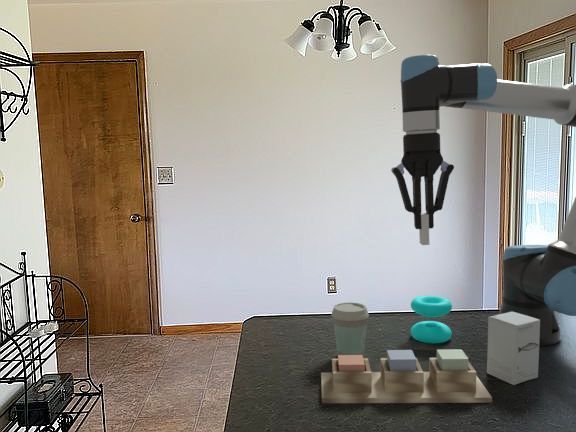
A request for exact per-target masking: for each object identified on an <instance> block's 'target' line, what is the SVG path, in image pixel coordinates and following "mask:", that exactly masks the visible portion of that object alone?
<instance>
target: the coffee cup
mask: <svg viewBox="0 0 576 432" xmlns="http://www.w3.org/2000/svg"><path fill="white" fill-rule="evenodd" d="M369 316H370V315H369V311H368V308H367V306H366V305H365V304H363V303H359V302H352V301H351V302H350V301H349V302H339V303H337V304H335V305H334V306H333V308H332V311H331V317H332V321H333V328H334V334H335V335H334V336H335V342H336V352H337V356H338V355H363V356H364V355H365V354H364V352H365V346H366V345H365V344H366V335H367V324H368V318H369Z"/></svg>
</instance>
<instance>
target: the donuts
mask: <svg viewBox="0 0 576 432" xmlns="http://www.w3.org/2000/svg"><path fill="white" fill-rule="evenodd" d="M410 308H411V310H412V311H413V312H414V313H416V314H418V315H420V316H423V317H428V318H439V317H443V316H446V315H448V314H449V313H450V312H451V311H452V308H453V305H452V302H451V301H450V300H449V299H447V298H446V297H443V296H438V295H420V296H417V297H414V298H413V299H412V300H411V302H410ZM452 334H453V333H452V330H451V328H450V327H449V326H448V325H446V324H445V323H442V322H440V321H435V320H423V321H419V322H417V323H415V324H414V325H412V327H411V329H410V335H411V337H412V338H413V339H414V340H416V341H418V342H422V343H425V344H443V343H445V342H446V343H447V342H448V341H449V340H450V339H452Z"/></svg>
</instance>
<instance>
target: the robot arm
mask: <svg viewBox="0 0 576 432" xmlns="http://www.w3.org/2000/svg"><path fill="white" fill-rule="evenodd" d="M400 64H401V66H400V85H401V86H400V87H401V88H400V89H401V90H400V91H401V106H402V109H401V110H402V113H401V114H402V132H404V133H405V134H404V135H403V136H402V144H403V157H402V158H401V160H400V163H399V164H398V165H396V166H394V167H392V168H391V170H390V171H391V173H392V174H393V175H394V177H395V178H396V182H397V186H398V188H399V193H400V195H401V199H402V202H403V207H404V209H405V211H407V212H408V213H412V214H413V222H414V224H413V225H414V229H416V230H419V236H418V237H419V244H420V245H422V246H430V230H431V229H434V227H435V226H434V225H435V224H434V223H435V221H434V220H435V219H434V214H435V213H436V212H438V211H441V210H442V209H443V207H444V202H445V197H446V192H447V190H448V189H447V188H448V183H449V179H450V175H451V174H452V173H453V170H454V169H455V166H454V164H450V163H448V162H446V161H445V160H444V158H443V157H444V156H442V153H441V134H440V133H439V132H438V131H439V130H440V129H441V127H440V126H441V124H440V110H441V109H440V107H444V108H454V109H464V110H465V109H466V110H472V111H473V110H474V111H480V112H481V111H482V112H488V113H489V112H490V113H498V114H506V115H514V116H522V117H529V118H538V119H548V120H554V122H555V123H556V124H557V125H560V126H569V127H574V128H576V84H570V83H569V84H565V85H563V86H562V87H560V86H550V85H544V84H536V83H528V82H521V81H512V80H504V79H498V75H497V71H496V68H495V67H494V66H493V65H492V64H489V63H479V62H476V63H469V64H466V63H465V64H450V65H444V64H440V62H439V57H438V56H437V55H434V54H421V55H412V56H409V57H408V56H407V57H405V59H403V60H402V61H401V63H400ZM439 168H440V171H441V173H440V175H439V180H438V185H437V190H436V194H435V197H434V175H436V173H437V171H438V170H439ZM405 170H406V171H407V173H408V174H410V176H411V181H412V202H413V204H412V202H411V198H410V194H409V190H408V187H407V183H406V180H405V177H404V174H405ZM422 177H423V180H424V195H425V196H424V202H425V203H424V204H425V212H422V187H421V186H422V185H421V184H422V183H421V182H422ZM434 198H435V199H434ZM502 263H503V264H502V304H501V306H500V309H499V312H498V314H497V315H499V314H503V313H508V312H516V313H519V314H523V315H526V316H530V317H533V318H536V319H539V320H540V338H539V347H540V346H550V345H551V346H552V345H554V344H557V343H558V342H560V341H561V329H560V326H559V322H558V319H557V316H556V313H558V314H563V315H565V316H569V317H576V196H575V198H574V200H573V202H572V206H571V207H570V209H569V213H568V215H567V217H566V219H565V222H564V225H563V227H562V230H561V232H560V234H559V238H558V239H557V240H556V241H554V242H551V243H549V244H520V245H509V246H507V247H505V249H504V251H503V257H502Z"/></svg>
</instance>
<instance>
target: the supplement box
mask: <svg viewBox="0 0 576 432" xmlns="http://www.w3.org/2000/svg"><path fill="white" fill-rule="evenodd" d="M498 314H499V313H498ZM498 314H496V315H491V316H488V317H487V318H488V321H487V324H488V325H487V356H486V357H487V358H486V359H487V362H486V363H487V364H486V374H489V375H491V376H493V377H495V378H497V379H499V380H501V381H504V382H506V383H508V384H510V385H512V386H516V385H518V384H521V383H523V382H526V381H531V380H533V379H537V378H538V377H539V359H540V346H539V338H540V320H539V319H536V318H533V317H530V316H526V315H523V314H519V313H516V312H508V313H503V314H499V315H498Z"/></svg>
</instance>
